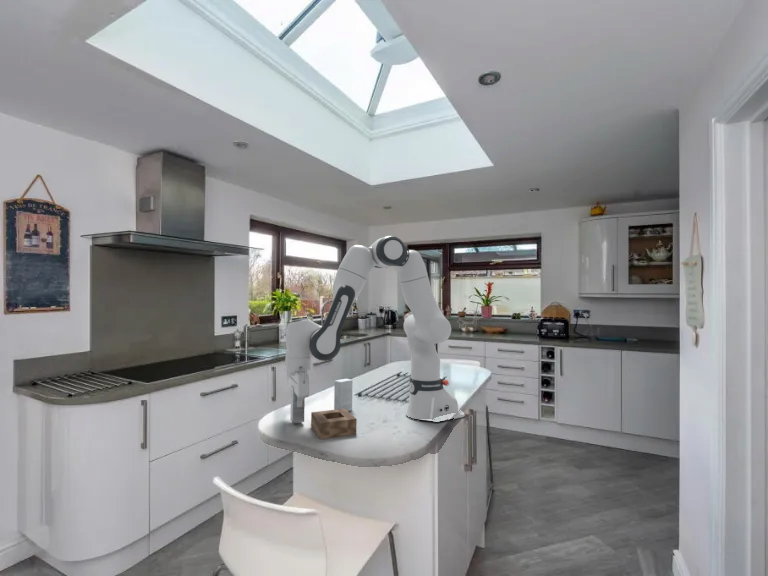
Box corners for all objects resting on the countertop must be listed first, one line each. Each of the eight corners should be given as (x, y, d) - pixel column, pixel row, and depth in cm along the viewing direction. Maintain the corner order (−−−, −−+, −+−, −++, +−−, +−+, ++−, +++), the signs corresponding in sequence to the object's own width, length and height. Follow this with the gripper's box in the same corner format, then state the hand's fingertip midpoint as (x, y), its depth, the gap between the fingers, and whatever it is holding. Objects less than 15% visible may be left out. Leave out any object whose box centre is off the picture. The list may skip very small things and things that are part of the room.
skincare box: (345, 408, 150) (346, 378, 151) (352, 410, 147) (353, 379, 148) (333, 411, 146) (334, 380, 147) (340, 413, 143) (340, 382, 144)
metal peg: (301, 418, 133) (302, 384, 134) (304, 421, 130) (304, 386, 130) (290, 419, 132) (291, 385, 132) (292, 423, 128) (293, 387, 128)
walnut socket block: (344, 422, 132) (344, 408, 133) (356, 434, 122) (356, 418, 122) (311, 427, 127) (311, 412, 128) (320, 439, 117) (320, 423, 117)
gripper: (314, 369, 123) (313, 411, 123) (301, 359, 142) (300, 396, 141) (295, 370, 120) (294, 413, 120) (284, 360, 139) (283, 398, 139)
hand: (297, 404), depth 131 cm, fingers closed on metal peg, 4 cm apart
